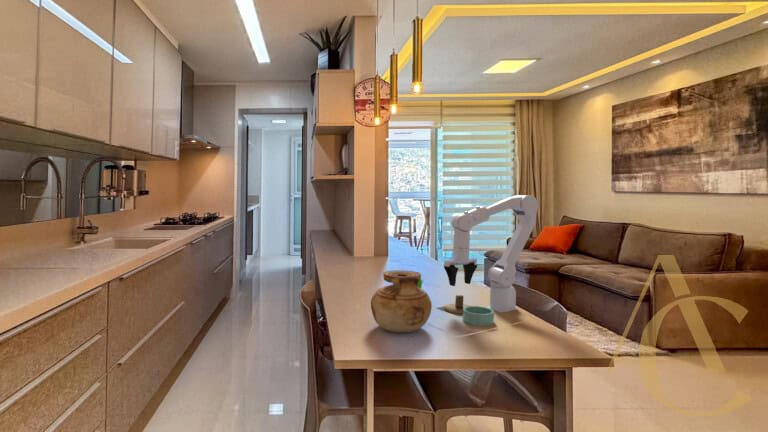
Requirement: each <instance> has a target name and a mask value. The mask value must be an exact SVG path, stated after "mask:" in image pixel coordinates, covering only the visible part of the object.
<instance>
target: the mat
mask: <svg viewBox="0 0 768 432" xmlns="http://www.w3.org/2000/svg"><path fill="white" fill-rule="evenodd" d="M436 309H437V310H440V311H442V312H444V313H445V312H446V313H448V314H451V315H453V316H455V317H456V316H457V317H462V315H463V314H455V313H450V312H447V311H445V310H444V306H439V307H436Z"/></svg>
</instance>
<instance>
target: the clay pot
mask: <svg viewBox="0 0 768 432" xmlns="http://www.w3.org/2000/svg"><path fill="white" fill-rule="evenodd" d="M421 274H422V273H420V272H418V271H414V270H413V271H412V270H387V271H384V272H383V280H384V281H385V282H387V283H389V285H386V286H382V287H380V288H379V289H377V290H376V291H375V292H374V293H373V295H372V297H371V300H370V309H371V313H372V316H373V319H374V321H375V322H376V324H377V325H378V327H380V328H382V330H383V329H384V330H385V331H387V332H392V333H398V334H399V333H400V334H401V333H404V334H406V333H413V332H415V331H417V330H419V329H420V328H422V327H423V326H424V325H425V324H426V323H427V322H428V320H429V318H430V316H431V312H432V308H433V306H432V300H431V297H430V295H429V294H428V293H427V292H426V291H425V290H424V289H422V287H421V288H419V287H417V285H418V281H420V280H421V279H422V275H421ZM390 283H391V284H390Z"/></svg>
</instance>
